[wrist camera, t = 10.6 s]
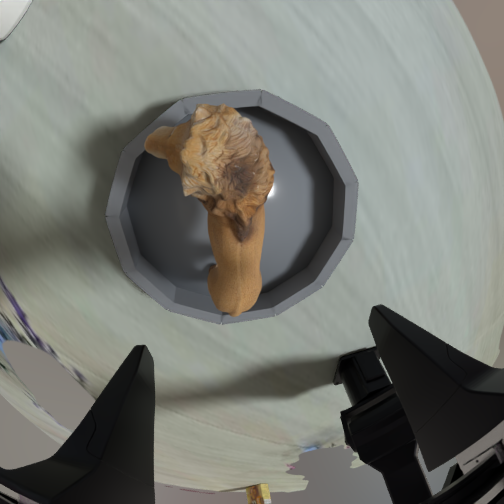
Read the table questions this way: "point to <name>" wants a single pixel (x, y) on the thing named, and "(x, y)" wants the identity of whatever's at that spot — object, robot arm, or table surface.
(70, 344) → the table surface
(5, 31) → the eye dropper bottle
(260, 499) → the candy box
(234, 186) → the lion figurine
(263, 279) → the round dish
